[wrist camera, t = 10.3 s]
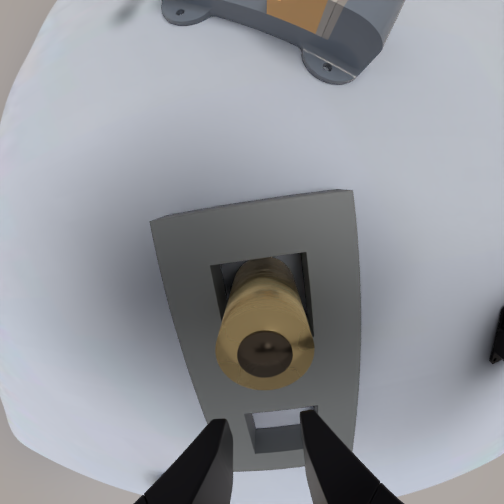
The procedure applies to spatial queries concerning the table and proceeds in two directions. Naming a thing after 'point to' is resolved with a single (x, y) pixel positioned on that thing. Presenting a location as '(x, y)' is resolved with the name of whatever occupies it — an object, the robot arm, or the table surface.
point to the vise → (306, 28)
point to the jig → (318, 315)
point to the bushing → (264, 328)
